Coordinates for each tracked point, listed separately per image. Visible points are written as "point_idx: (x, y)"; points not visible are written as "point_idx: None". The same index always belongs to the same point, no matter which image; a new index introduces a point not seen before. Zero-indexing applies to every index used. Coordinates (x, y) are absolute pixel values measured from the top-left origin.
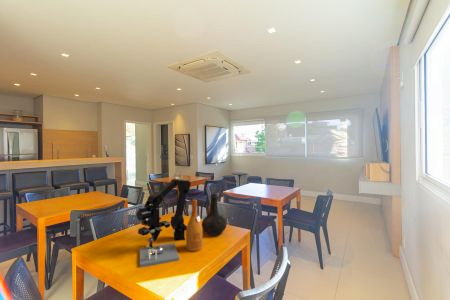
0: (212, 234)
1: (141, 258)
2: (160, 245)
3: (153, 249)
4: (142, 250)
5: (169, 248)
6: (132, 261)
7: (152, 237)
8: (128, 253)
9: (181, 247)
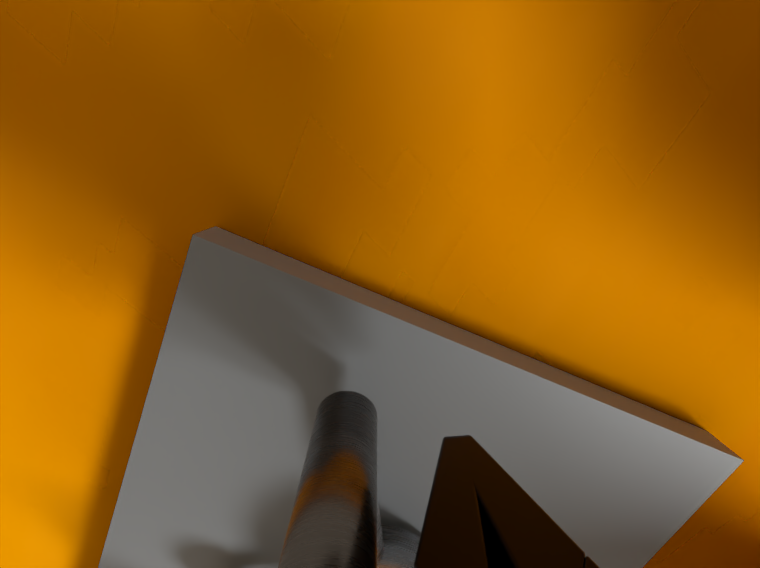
0: None
1: (121, 558)
2: (534, 398)
3: None
4: (204, 362)
5: None
6: (42, 460)
7: (421, 548)
8: (10, 186)
9: (704, 538)
